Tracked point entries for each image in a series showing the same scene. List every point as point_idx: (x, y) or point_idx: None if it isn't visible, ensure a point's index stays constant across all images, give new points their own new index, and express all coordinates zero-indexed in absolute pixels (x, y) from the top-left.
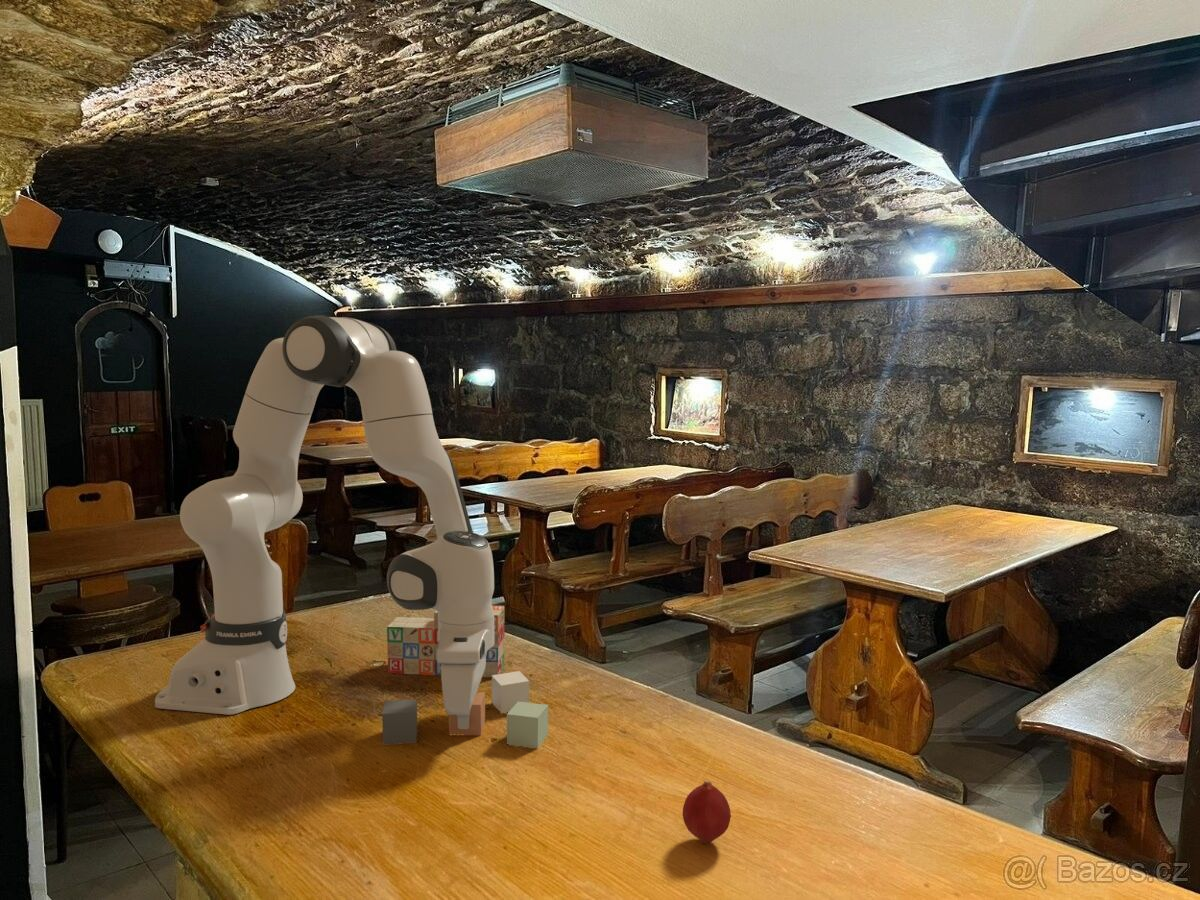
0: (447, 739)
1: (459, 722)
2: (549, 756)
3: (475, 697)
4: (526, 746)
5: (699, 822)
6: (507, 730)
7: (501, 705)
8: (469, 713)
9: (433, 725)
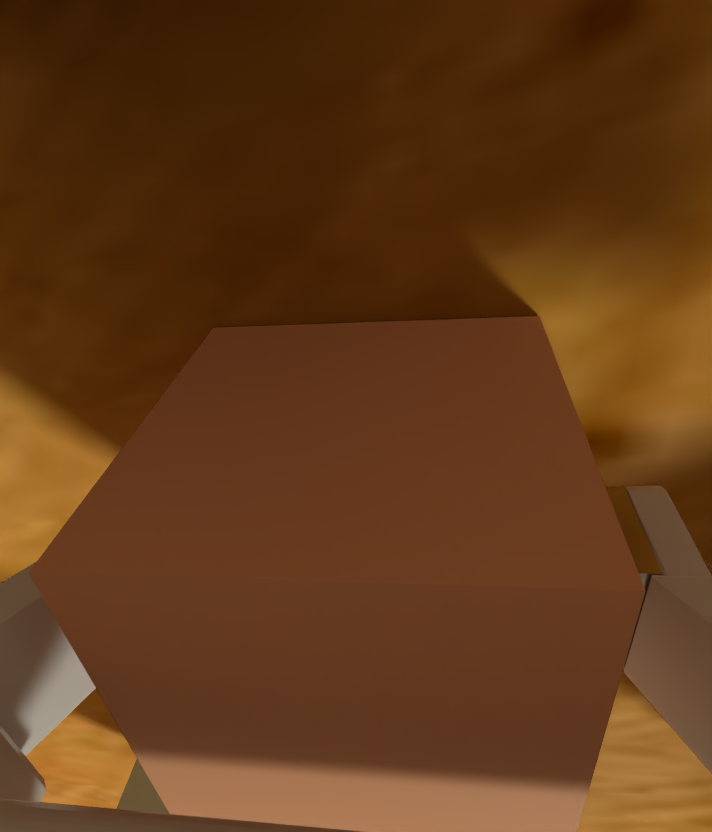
0: (129, 329)
1: None
2: (120, 782)
3: (383, 804)
4: None
5: None
6: (134, 765)
7: None
8: (67, 699)
9: (442, 75)
